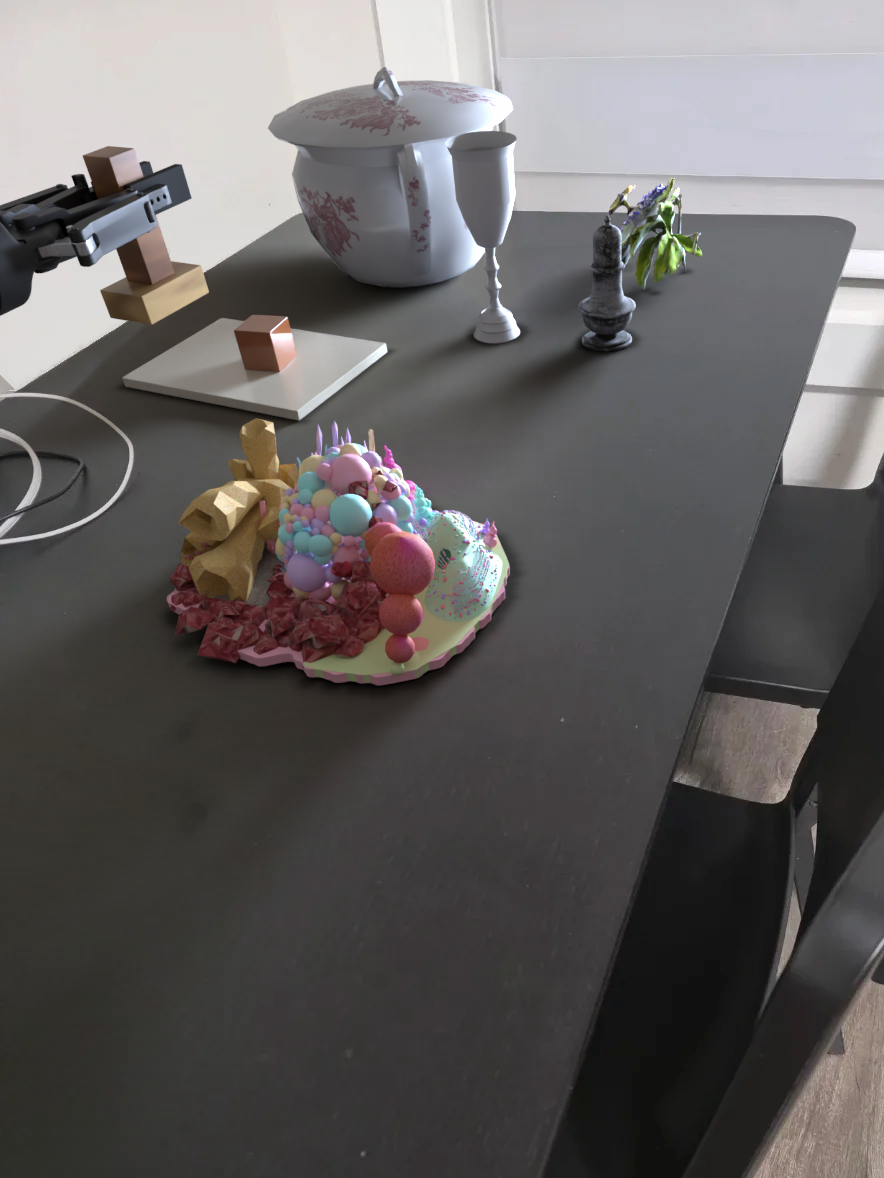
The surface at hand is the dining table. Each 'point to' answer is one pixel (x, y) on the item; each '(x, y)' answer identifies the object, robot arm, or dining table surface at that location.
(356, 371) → the tile
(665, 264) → the passion flower
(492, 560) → the pastel sphere sculpture
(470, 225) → the chalice
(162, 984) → the dining table surface
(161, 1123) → the dining table surface
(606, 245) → the salt shaker
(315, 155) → the chamber pot
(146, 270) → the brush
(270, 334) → the clay cube
